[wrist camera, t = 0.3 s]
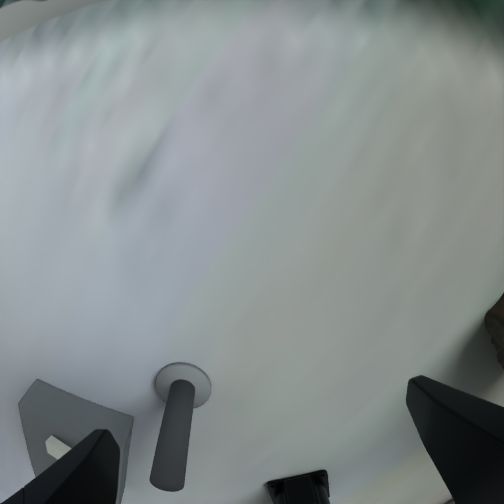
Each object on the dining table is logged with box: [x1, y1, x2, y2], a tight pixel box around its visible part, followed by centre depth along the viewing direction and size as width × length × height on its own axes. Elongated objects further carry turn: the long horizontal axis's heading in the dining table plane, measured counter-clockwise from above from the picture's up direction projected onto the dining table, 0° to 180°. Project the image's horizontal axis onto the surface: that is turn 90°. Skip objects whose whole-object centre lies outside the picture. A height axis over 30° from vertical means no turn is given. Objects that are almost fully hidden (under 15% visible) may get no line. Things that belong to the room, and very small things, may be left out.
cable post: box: [150, 363, 211, 492], centre depth 19 cm, size 4×4×10 cm
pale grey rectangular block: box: [45, 435, 72, 459], centre depth 20 cm, size 3×2×1 cm, turn 72°
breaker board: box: [18, 379, 134, 504], centre depth 24 cm, size 10×14×4 cm
